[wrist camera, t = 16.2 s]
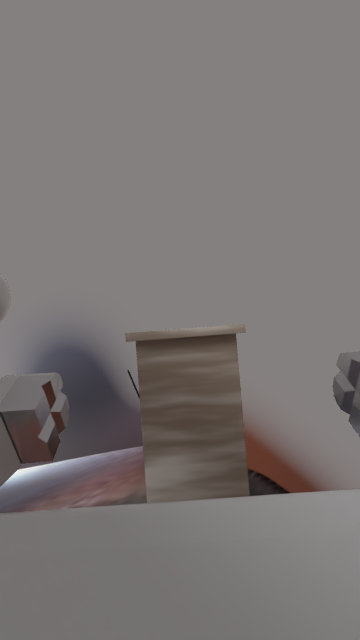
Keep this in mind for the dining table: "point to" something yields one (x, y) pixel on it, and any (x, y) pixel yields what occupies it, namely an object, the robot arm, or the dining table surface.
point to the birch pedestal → (191, 413)
